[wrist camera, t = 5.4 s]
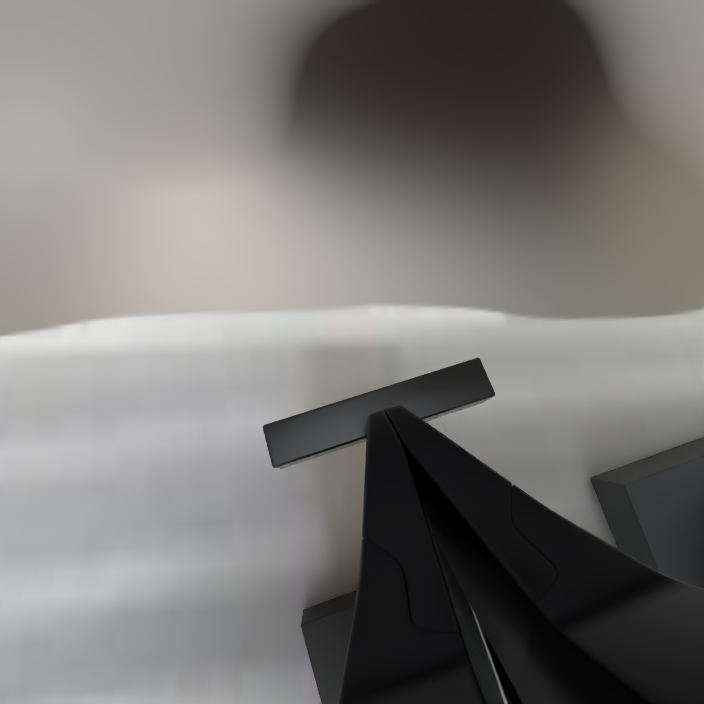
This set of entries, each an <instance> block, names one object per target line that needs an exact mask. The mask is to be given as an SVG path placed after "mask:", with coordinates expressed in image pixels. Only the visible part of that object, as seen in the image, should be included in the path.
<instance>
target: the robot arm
mask: <svg viewBox="0 0 704 704" xmlns="http://www.w3.org/2000/svg"><path fill="white" fill-rule="evenodd" d="M429 528H430V530H431V532H432V534H433V535H434V537H435V539H436V541H437V543H438V545H439V547H440V549H441V550H442V552H443V554H444V556H445V558H446V560H447V562H448V564H449V565H450V567H451V569H452V571H453V573H454V575H455V577H456V579H457V581H458V582H459V584H460V586H461V588H462V590H463V592H464V594H465V596H466V597H467V599H468V601H469V603H470V605H471V607H472V609H473V611H474V613H475V614H476V616H477V618H478V620H479V622H480V624H481V626H482V628H483V629H484V631H485V633H486V635H487V637H488V639H489V641H490V643H491V645H492V646H493V648H494V650H495V652H496V654H497V656H498V658H499V660H500V661H501V663H502V665H503V667H504V669H505V671H506V673H507V675H508V677H509V678H510V680H511V682H512V684H513V686H514V688H515V689H517V690H516V691H517V694H518V696H519V697H520V699H521V701H522V703H523V704H704V588H702V587H698V586H695V585H691V584H688V583H685V582H682V581H679V580H677V579H674V578H672V577H670V576H667V575H665V574H663V573H661V572H659V571H656V570H654V569H652V568H651V567H649V566H647V565H645V564H643V563H641V562H640V561H638V560H636V559H634V558H633V557H631V556H629V555H627V554H626V553H624V552H622V551H620V550H619V549H617V548H615V547H614V546H612V545H610V544H608V543H607V542H605V541H603V540H601V539H600V538H598V537H596V536H594V535H593V534H591V533H589V532H587V531H586V530H584V529H582V528H580V527H579V526H577V525H575V524H574V523H572V522H570V521H569V520H567V519H565V518H564V517H562V516H560V515H559V514H557V513H555V512H554V511H552V510H550V509H549V508H547V507H546V506H544V505H543V504H541V503H540V502H538V501H537V500H535V499H534V498H533V497H531V496H530V495H528V494H527V493H525V492H524V491H522V490H521V489H520V488H518V487H517V486H516V485H512V483H511V482H510V481H508V480H507V479H505V478H504V477H503V476H501V475H500V474H498V473H497V472H495V471H494V470H493V469H491V468H490V467H488V466H487V465H486V464H484V463H483V462H481V461H480V460H479V459H477V458H476V457H474V456H473V455H471V454H470V453H469V452H467V451H466V450H464V449H463V448H462V447H460V446H459V445H457V444H456V443H455V442H453V441H452V440H450V439H449V438H447V437H446V436H445V435H443V434H442V433H440V432H439V431H438V430H436V429H435V428H433V427H432V426H430V425H429V424H428V423H426V422H425V421H423V420H422V419H421V418H419V417H418V416H416V415H415V414H414V413H412V412H411V411H409V410H408V409H406V408H405V407H404V406H402V405H400V404H398V405H395V406H391V407H388V408H386V409H385V411H384V410H379V411H376V412H373V413H370V414H369V415H368V422H367V443H366V464H365V485H364V505H363V526H362V538H363V539H362V542H361V560H360V572H359V583H358V590H357V597H356V604H355V611H354V616H353V622H352V628H351V633H350V639H349V645H348V650H347V656H346V662H345V667H344V673H343V679H342V684H341V688H340V693H339V698H338V703H337V704H487V703H486V700H485V698H484V695H483V693H482V690H481V688H480V685H479V683H478V680H477V677H476V675H475V672H474V669H473V666H472V663H471V660H470V658H469V655H468V652H467V649H466V645H465V642H464V639H463V637H462V635H461V629H460V626H459V623H458V620H457V616H456V613H455V610H454V607H453V604H452V600H451V597H450V594H449V591H448V588H447V584H446V581H445V578H444V575H443V571H442V568H441V565H440V562H439V559H438V555H437V552H436V549H435V546H434V542H433V539H432V536H431V533H430V530H429Z"/></svg>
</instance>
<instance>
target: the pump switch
mask: <svg viewBox="0 0 704 704" xmlns="http://www.w3.org/2000/svg"><path fill="white" fill-rule="evenodd" d="M591 480H592V483H593V485H594V488H595V490H596V493H597V495H598V498H599V500H600V503H601V505H602V508H603V510H604V513H605V515H606V518H607V520H608V523H609V525H610V528H611V530H612V533H613V535H614V538H615V540H616V543H617V545H618V548H619V550H620V551H622V552H624V553H626V554H627V555H629V556H631V557H633V558H634V559H636V560H638V561H640V562H641V563H643V564H645V565H647V566H649V567H651V568H652V569H654V570H656V571H659V572H661V573H663V574H665V575H667V576H670V577H672V578H674V579H677V580H679V581H682V582H685V583H688V584H691V585H695V586H698V587H702V588H704V438H701V439H698V440H696V441H693V442H690V443H687V444H685V445H682V446H679V447H676V448H673V449H671V450H668V451H665V452H662V453H659V454H657V455H654V456H651V457H648V458H645V459H643V460H640V461H637V462H634V463H632V464H629V465H626V466H623V467H620V468H618V469H615V470H612V471H609V472H606V473H604V474H601V475H598V476H595V477H592V478H591Z"/></svg>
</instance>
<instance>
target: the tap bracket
mask: <svg viewBox="0 0 704 704" xmlns="http://www.w3.org/2000/svg"><path fill="white" fill-rule="evenodd" d="M356 597H357V591H354V592H351V593H349V594H346V595H343V596H340V597H338V598H335V599H332V600H330V601H327V602H324V603H321V604H319V605H316V606H313V607H310V608H308V609H305V610H303V616H302V622H301V628H302V632H303V635H304V639H305V643H306V646H307V650H308V654H309V658H310V661H311V665H312V669H313V672H314V676H315V680H316V684H317V687H318V691H319V695H320V698H321V702H322V704H337V703H338V698H339V693H340V688H341V684H342V679H343V673H344V667H345V662H346V656H347V650H348V645H349V639H350V633H351V628H352V622H353V616H354V611H355V604H356ZM477 619H478V618H477ZM478 622H479V620H478ZM479 624H480V622H479ZM480 627H481V630H482V633H483V636H484V638H485V641H486V644H487V647H488V649H489V652H490V655H491V658H492V661H493V663H494V666H495V669H496V672H497V674H498V677H499V680H500V683H501V686H502V688H503V691H504V694H505V697H506V699H507V702H508V704H523V703H522V701H521V699H520V697H519V696H518V694H517V691H516V690H517V689H515V688H514V686H513V684H512V682H511V680H510V678H509V677H508V675H507V673H506V671H505V669H504V667H503V665H502V663H501V661H500V660H499V658H498V656H497V654H496V652H495V650H494V648H493V646H492V645H491V643H490V641H489V639H488V637H487V635H486V633H485V631H484V629H483V628H482V626H481V624H480Z"/></svg>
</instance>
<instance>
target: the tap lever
mask: <svg viewBox="0 0 704 704" xmlns="http://www.w3.org/2000/svg"><path fill="white" fill-rule="evenodd" d="M493 396H495V392H494V390H493V388H492V385H491V383H490V381H489V378H488V376H487V374H486V372H485V369H484V367H483V365H482V362H481V360H480V358H475V359H472V360H469V361H466V362H462V363H459V364H456V365H453V366H450V367H447V368H443V369H440V370H437V371H434V372H431V373H428V374H424V375H421V376H418V377H415V378H412V379H409V380H405V381H402V382H399V383H396V384H393V385H390V386H386V387H383V388H380V389H377V390H374V391H371V392H367V393H364V394H361V395H358V396H355V397H352V398H348V399H345V400H342V401H339V402H336V403H333V404H329V405H326V406H323V407H320V408H317V409H314V410H310V411H307V412H304V413H301V414H298V415H295V416H291V417H288V418H285V419H282V420H279V421H275V422H272V423H269V424H266V425H264V426H263V431H264V435H265V439H266V443H267V447H268V451H269V455H270V459H271V463H272V466H273V468H280V469H283V468H286V467H289V466H292V465H295V464H298V463H301V462H304V461H307V460H310V459H313V458H316V457H319V456H322V455H325V454H328V453H331V452H334V451H337V450H340V449H343V448H347V447H350V446H353V445H356V444H359V443H362V442H365V441H366V443H367V422H368V415H369V414H370V413H373V412H376V411H379V410H384V411H385V409H386V408H388V407H391V406H395V405H398V404H400V405H402V406H404V407H405V408H406V409H408V410H409V411H411V412H412V413H414V414H415V415H416V416H418V417H419V418H421V419H422V420H423V421H425V422H426V421H429V420H432V419H435V418H438V417H441V416H444V415H447V414H450V413H453V412H456V411H459V410H462V409H465V408H468V407H471V406H475V405H478V404H481V403H483V402H485V401H486V400H488V399H490V398H492V397H493ZM429 530H430V528H429ZM430 533H431V536H432V539H433V542H434V546H435V549H436V552H437V555H438V559H439V562H440V565H441V568H442V571H443V575H444V578H445V581H446V584H447V588H448V591H449V594H450V597H451V600H452V604H453V607H454V610H455V613H456V616H457V620H458V623H459V626H460V629H461V635H462V637H463V639H464V642H465V645H466V649H467V652H468V655H469V658H470V660H471V663H472V666H473V669H474V672H475V675H476V677H477V680H478V683H479V685H480V688H481V690H482V693H483V695H484V698H485V700H486V703H487V704H508V702H507V699H506V697H505V694H504V691H503V688H502V686H501V683H500V680H499V677H498V674H497V672H496V669H495V666H494V663H493V661H492V658H491V655H490V652H489V649H488V647H487V644H486V641H485V638H484V636H483V633H482V630H481V627H480V624H479V622H478V619H477V616H476V614H475V613H474V611H473V609H472V607H471V605H470V603H469V601H468V599H467V597H466V596H465V594H464V592H463V590H462V588H461V586H460V584H459V582H458V581H457V579H456V577H455V575H454V573H453V571H452V569H451V567H450V565H449V564H448V562H447V560H446V558H445V556H444V554H443V552H442V550H441V549H440V547H439V545H438V543H437V541H436V539H435V537H434V535H433V534H432V532H431V530H430Z"/></svg>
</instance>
